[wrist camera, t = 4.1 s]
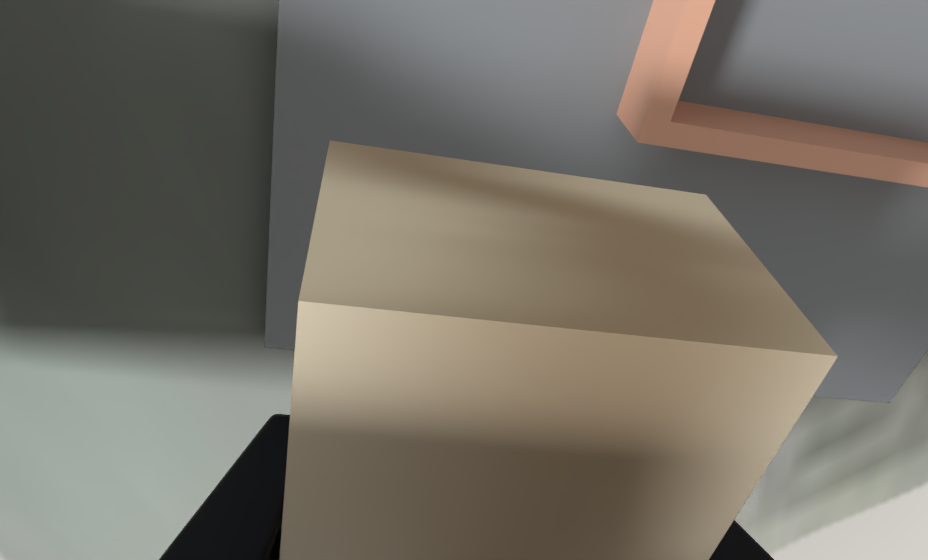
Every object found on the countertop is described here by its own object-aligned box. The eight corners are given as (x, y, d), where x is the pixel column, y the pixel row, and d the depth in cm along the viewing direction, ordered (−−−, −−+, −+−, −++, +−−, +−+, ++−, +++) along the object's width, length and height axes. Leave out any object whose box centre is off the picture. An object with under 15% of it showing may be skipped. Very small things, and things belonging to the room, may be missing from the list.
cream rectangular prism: (291, 571, 12) (263, 771, 9) (329, 140, 8) (298, 300, 5) (541, 580, 13) (577, 767, 10) (706, 194, 8) (837, 356, 6)
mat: (266, 337, 18) (264, 347, 17) (303, -511, 9) (300, -523, 9) (881, 393, 21) (889, 403, 20) (1304, -205, 13) (1328, -205, 12)
